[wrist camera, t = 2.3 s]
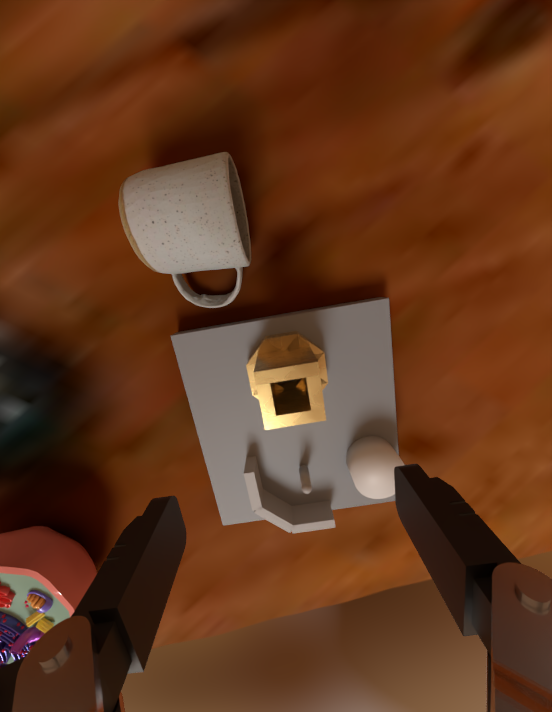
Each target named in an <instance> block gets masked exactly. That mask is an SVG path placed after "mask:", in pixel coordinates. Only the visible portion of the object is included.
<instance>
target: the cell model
mask: <svg viewBox="0 0 552 712" xmlns="http://www.w3.org/2000/svg"><path fill="white" fill-rule="evenodd" d="M96 575H97V571H96V567H95V564H94V562H93V560H92V559H91V557H90V555H89V554H88V552H87V551H86V550H85V548H84V547H83V546H82V545H81V544H80V543H78V542H77V541H75V540H74V539H71V538H69V537H67V536H65V535H63V534H61V533H59V532H57V531H55V530H53V529H51V528H49V527H46V526H32V527H27V528H23V529H18V530H14V531H10V532H4V533H0V668H1V667H3V666H6V665H8V664H10V663H12V662H14V661H16V660H19V659H21V658H23V657H25V656H26V655H27V654H28V652H29V651H30V649H31V648H32V647H33V645H34V644H35V643H36V642H37V641H38V640H39V639H40V638H41V637H42V636H43V635H44V634H45V633H46V632H47V631H48V630H50V629H51V628H52V627H54V626H55V625H56V624H58V623H60V622H61V621H63V620H65V619H67V618H70V617H71V616H72V614H73V613H74V611H75V609H76V608H77V606H78V604H79V603H80V601H81V599H82V598H83V596H84V595H85V593H86V591H87V590H88V588H89V586H90V585H91V583H92V581H93V580H94V578H95V576H96Z"/></svg>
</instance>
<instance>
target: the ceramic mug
mask: <svg viewBox="0 0 552 712" xmlns="http://www.w3.org/2000/svg"><path fill="white" fill-rule="evenodd" d="M118 204H119V211H120V217H121V221H122V224H123V227H124V231H125V233H126V235H127V238H128V240H129V242H130V244H131V246H132V248H133V250H134V251H135V253H136V254H137V256H138V257H139V258H140V260H141V261H142V262H143V263H144V264H145V265H146V266H148V267H149V268H150V269H152V270H153V271H155V272H159V273H167V274H172V277H173V280H174V283H175V285H176V286H177V288H178V290H179V292H180V293H181V294H182V295H183V296H184V297H185V298H186V299H187V300H188V301H190V302H192V303H193V304H196V305H198V306H201V307H207V308H217V307H222V306H226V305H228V304H229V303H231V302H232V301H233V300H234V299H235V297H236V296H237V294H238V293H239V290H240V287H241V282H242V273H243V267H246V266H249V265H250V262H251V243H250V236H249V226H248V220H247V214H246V208H245V203H244V198H243V193H242V189H241V184H240V179H239V177H238V174H237V169H236V167H235V164H234V161H233V159H232V157H231V156H230V154H229V153H228V152H221V153H217V154H213V155H209V156H205V157H201V158H196V159H191V160H187V161H183V162H178V163H175V164H171V165H166V166H163V167H157V168H152V169H148V170H143V171H141V172H138V173H136V174H134V175H132V176H130V177H128V178H127V179H126V180H125V181H124V182H123V183H122V185H121V188H120V192H119V203H118ZM225 268H236V270H237V282H236V286H235V288H234V290H233V291H232V292H231V293H228V294H227V295H214V296H211V295H206V294H202V295H199V294H197V293H195V292H194V291H193V290H191V289H190V288H189V287H188V285H187V283H186V282H185V281H184V279H183V277H182V275H181V273H189V272H195V271H203V270H218V269H225Z"/></svg>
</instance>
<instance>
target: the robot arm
mask: <svg viewBox="0 0 552 712" xmlns="http://www.w3.org/2000/svg"><path fill="white" fill-rule="evenodd" d="M394 480H395V501H396V507H397V511H398V514H399V517H400V519H401V522H402V524H403V525H404V527H405V529H406V531H407V533H408V535H409V536H410V538H411V540H412V542H413V544H414V546H415V548H416V549H417V551H418V553H419V555H420V557H421V559H422V561H423V562H424V564H425V566H426V568H427V570H428V572H429V573H430V575H431V577H432V579H433V581H434V583H435V584H436V586H437V588H438V590H439V592H440V594H441V596H442V598H443V599H444V601H445V603H446V605H447V607H448V609H449V610H450V612H451V614H452V616H453V618H454V619H455V622H456V623H457V625H458V627H459V629H460V631H461V633H462V635H463V636H470V635H479V637H480V639H481V640H482V642H483V644H484V646H485V647H486V649H487V682H486V683H487V684H486V685H487V686H486V687H487V688H486V712H552V579H551V578H550V577H548V576H547V575H545V574H543V573H542V572H540V571H538V570H536V569H534V568H532V567H529V566H526V565H523V564H521V563H520V562H519V561H518V560H517V559H516V557H515V556H514V555H513V554H512V553H511V552H510V551H509V550H508V548H507V547H506V546H505V545H504V544H503V543H502V542H501V541H500V539H499V538H498V537H497V536H496V535H495V534H494V533H493V531H492V530H491V529H490V528H489V527H488V526H487V525H486V524H485V522H484V521H483V520H482V519H481V518H480V517H479V516H478V515H477V514H475V511H474V510H473V509H472V508H471V507H470V506H469V504H468V503H466V502H465V500H464V499H463V498H462V497H461V495H460V494H459V493H458V492H457V491H456V490H455V489H454V488H453V487H452V486H451V485H449V484H447V483H446V482H444V481H443V480H441V479H440V478H438V477H435V478H429V477H428V476H427V474H426V473H425V472H424V471H423V469H422V468H421V467H420V466H419V465H418V464H411V465H403V466H396V467H395V468H394ZM185 545H186V528H185V525H184V521H183V518H182V514H181V511H180V507H179V504H178V501H177V498H176V497H175V496H168V497H161V498H154V499H152V500H151V501H150V503H149V505H148V506H147V508H146V510H145V512H144V514H143V515H142V516H137V517H136V518H135V519H134V520H133V521H132V522H131V523H130V524H129V525H128V526H127V527H126V528H125V529H124V530H123V532H122V534H121V535H120V537H119V539H118V540H117V542H116V544H115V547H114V548H112V550H111V552H110V553H109V555H108V557H107V560H106V561H105V562H104V563H103V565H102V567H101V568H100V570H99V572H98V573H97V575H96V576H95V578H94V580H93V581H92V583H91V585H90V586H89V588H88V590H87V591H86V593H85V595H84V596H83V598H82V599H81V601H80V603H79V604H78V606H77V608H76V609H75V611H74V613H73V614H72V616H71V617H70V618H67V619H65V620H63V621H61V622H60V623H58V624H56V625H55V626H54V627H52V628H51V629H50V630H48V631H47V632H46V633H45V634H44V635H43V636H42V637H41V638H40V639H39V640H38V641H37V642H36V643H35V644H34V645H33V647H32V648H31V649H30V651H29V652H28V654H27V655H26V656H25V657H23V658H21V659H19V660H16V661H14V662H12V663H10V664H8V665H6V666H3V667H1V668H0V712H125V708H124V702H123V696H122V693H121V689H122V687H123V684H124V681H125V679H126V676H127V673H136V672H144V669H145V666H146V662H147V660H148V656H149V654H150V651H151V648H152V645H153V642H154V639H155V636H156V633H157V630H158V627H159V624H160V621H161V618H162V615H163V612H164V609H165V606H166V603H167V600H168V597H169V594H170V591H171V588H172V585H173V582H174V579H175V576H176V573H177V570H178V567H179V564H180V561H181V558H182V555H183V552H184V549H185Z"/></svg>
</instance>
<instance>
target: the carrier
mask: <svg viewBox="0 0 552 712" xmlns="http://www.w3.org/2000/svg"><path fill="white" fill-rule="evenodd" d="M292 331H297V332H299V333H300V334H302V335H303V336H304V337H306V338H307V339H309V340H310V341H311V342H313V343H314V344H316V345H317V346H319V347H320V348H321V349H322V350H323V351H324V354H325V362H326V370H327V378H328V384H327V385H326V386H325V388H324V389H323V390H322V392H323V399H324V407H325V414H326V421H320V422H314V423H307V424H301V425H294V426H288V427H282V428H275V429H269V430H265V427H264V422H263V417H262V412H261V407H260V402H259V399H257V398H256V397H254V396H253V395H252V391H251V386H250V382H249V377H248V372H247V367H246V364H247V362H248V360H249V358H250V357H251V356H252V354H253V353H254V351H255V350H256V348H257V347H258V346H259V344H260V343H261V341H262V340H263V339H264V337H265V336H269V335H275V334H281V333H287V332H292ZM171 339H172V343H173V346H174V350H175V353H176V357H177V361H178V364H179V368H180V372H181V375H182V379H183V382H184V386H185V390H186V393H187V397H188V400H189V404H190V408H191V411H192V415H193V419H194V422H195V426H196V429H197V433H198V437H199V440H200V444H201V447H202V451H203V455H204V458H205V462H206V465H207V469H208V473H209V476H210V480H211V484H212V487H213V491H214V494H215V498H216V502H217V505H218V509H219V512H220V516H221V520H222V523H223V525H230V524H237V523H244V522H251V521H258V520H265V519H266V520H268V521H269V522H271V523H273V524H275V525H276V526H278V527H280V528H282V529H284V530H285V531H287V532H289V533H290V532H291V531H292V533H299V532H307V531H314V530H321V529H328V528H335V522H334V517H333V513H332V510H334V509H341V508H348V507H355V506H362V505H369V504H376V503H383V502H390V501H395V480H394V468H395V467H396V466H403V465H405V464H404V463H403V462H402V460H401V459H400V457H399V454H398V437H397V421H396V405H395V389H394V373H393V356H392V340H391V324H390V308H389V298H384V297H378V298H372V299H366V300H360V301H355V302H349V303H343V304H337V305H332V306H326V307H320V308H314V309H308V310H303V311H297V312H291V313H285V314H279V315H274V316H268V317H262V318H256V319H251V320H245V321H239V322H233V323H227V324H222V325H216V326H210V327H204V328H198V329H193V330H187V331H181V332H177V333H175V334H173V335H171ZM295 380H296V379H293V380H287V381H281V382H283V383H286V382H292V381H295Z"/></svg>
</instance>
